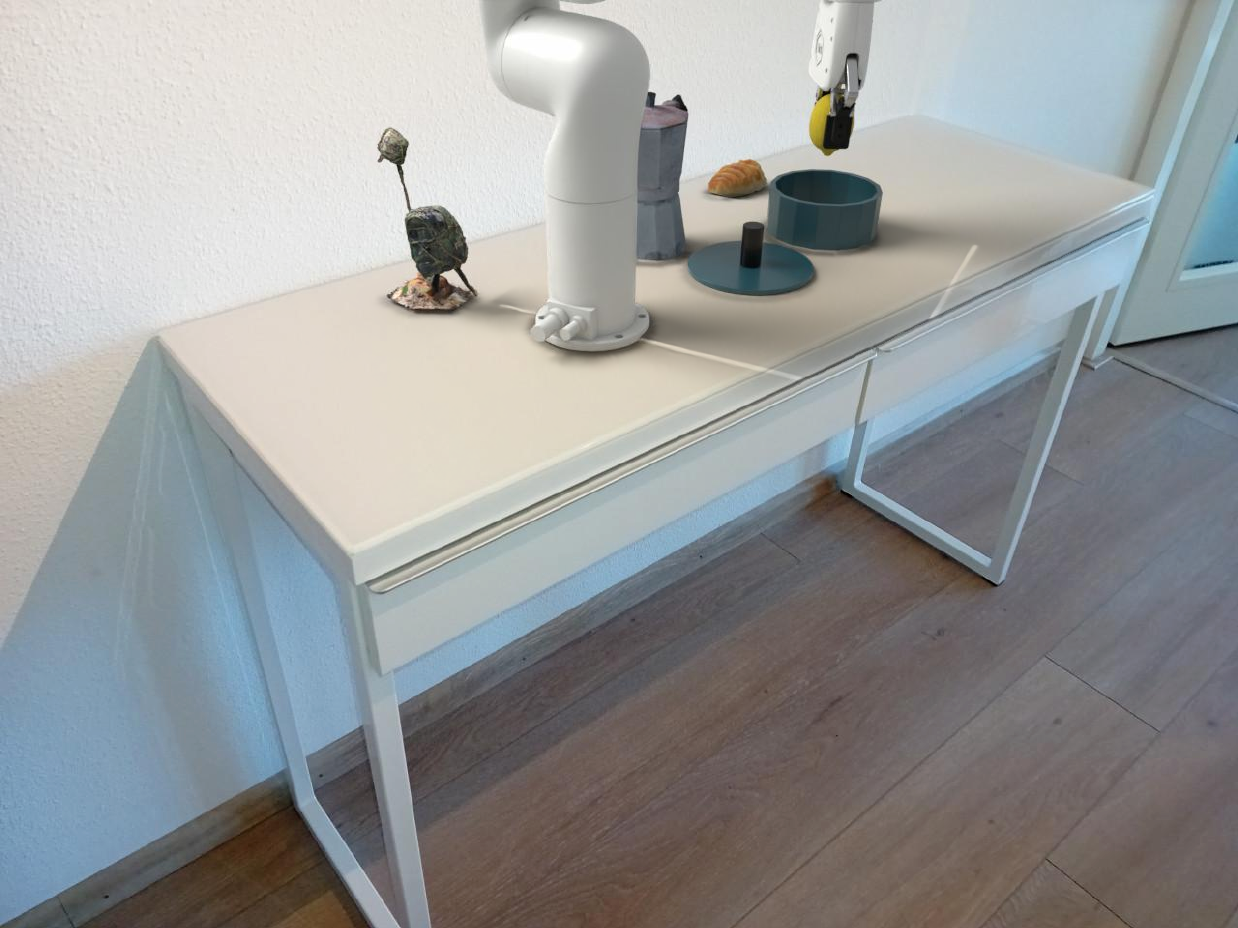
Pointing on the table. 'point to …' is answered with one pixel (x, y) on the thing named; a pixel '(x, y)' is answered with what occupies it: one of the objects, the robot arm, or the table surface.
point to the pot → (823, 209)
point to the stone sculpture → (428, 244)
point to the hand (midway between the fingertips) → (829, 140)
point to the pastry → (738, 179)
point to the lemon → (821, 123)
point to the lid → (750, 265)
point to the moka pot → (660, 179)
